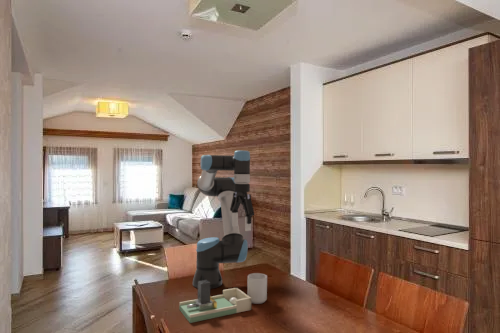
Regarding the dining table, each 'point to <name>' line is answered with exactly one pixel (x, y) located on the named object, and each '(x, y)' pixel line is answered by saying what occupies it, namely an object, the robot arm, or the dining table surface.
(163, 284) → the dining table surface
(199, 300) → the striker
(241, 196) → the robot arm
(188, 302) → the pitch
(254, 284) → the mug
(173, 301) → the dining table surface
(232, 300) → the ball
